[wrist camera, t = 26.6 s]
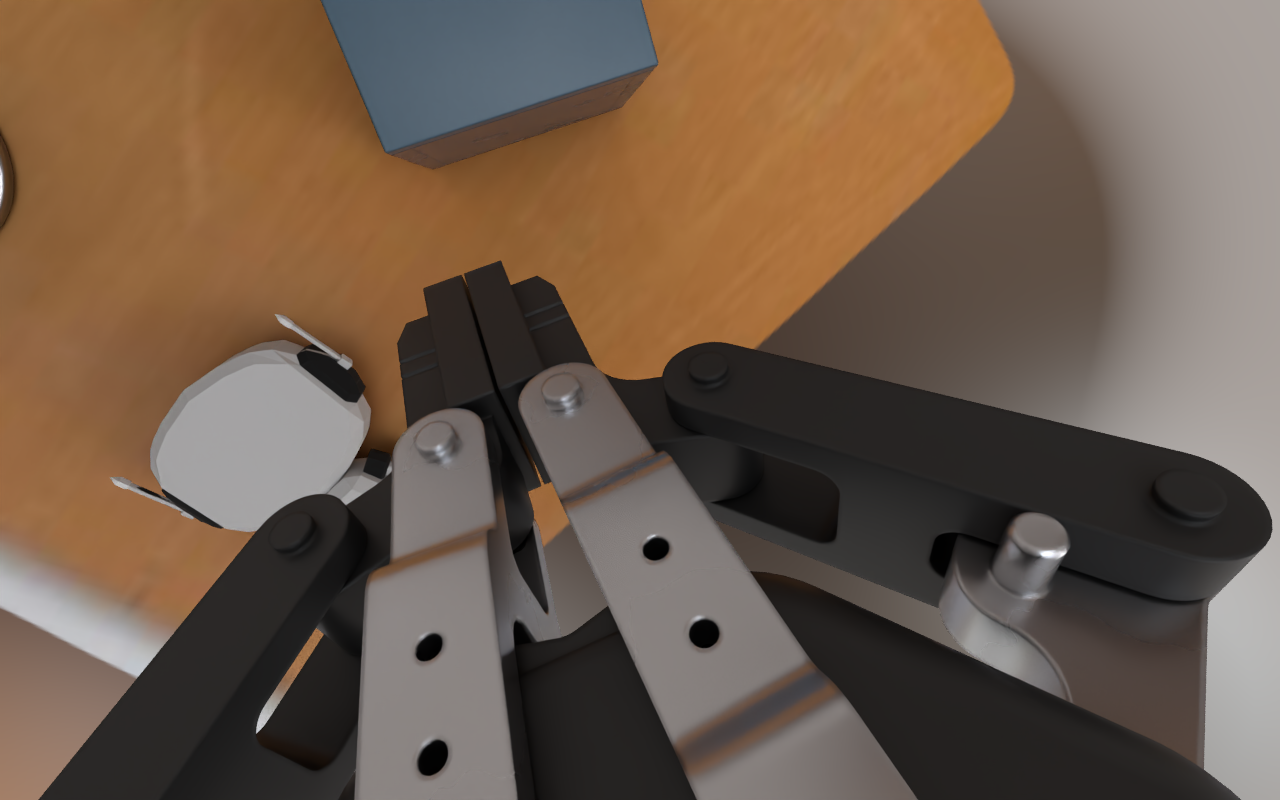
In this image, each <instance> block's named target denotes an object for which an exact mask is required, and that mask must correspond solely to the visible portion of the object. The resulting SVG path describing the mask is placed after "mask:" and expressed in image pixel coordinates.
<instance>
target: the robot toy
mask: <svg viewBox="0 0 1280 800" xmlns="http://www.w3.org/2000/svg"><path fill="white" fill-rule="evenodd" d="M275 315H276V317H277V319H278V320H279V322H280V323H281V324H283V325H284V326H286V327H287V328H291V329H292V330H294V331H295V332H297V333H298V334H300V335H301V336H303V337H304V338H306V339H307V340H309V341H310V342H312V343H313V344H311V345H309V346H306V347H303V346H300V345H297V344H295V343H292V342H289V341H286V340H278V341H270V342H263V343H260V344H257V345H254V346H252V347H250V348H248V349H246V350H244V351H242V352H240V353H238V354H236V355H234V356H232V357H231V358H229V359H228V360H226V361H225V362H223V363H222V364H221V365H219V366H218V367H216V368H215V369H213V370H212V371H210V372H209V373H208V374H206V375H205V376H203V377H202V378H200V379H199V380H197V381H196V382H195V383H193V384H192V385H190V386H189V387H187V388H186V389H185V390H183V392H182V393H181V395H180V396H179V397H178V399H177V400H176V402H175V403H174V405H173V406H172V408H171V409H170V411H169V412H168V414H167V415H166V417H165V418H164V419H163V421H162V422H161V424H160V427H159V429H158V431H157V433H156V435H155V437H154V439H153V442H152V446H151V450H150V460H151V470H152V472H153V474H154V475H155V477H156V479H157V481H158V482H159V484H160V486H161V488H162V492H163V493H164V494H165V496H166V497H167V498H166V497H163V496H161V495H159V494H157V493H154V492H152V491H150V490H147V489H145V488H143V487H140V486H138V485H136V484H133V483H131V482H132V481H130V480H128V479H125V478H123V477H110V478H111V480H112V481H113V483H114V484H115V485H116V486H119V487H121V488H123V489H129V490H132V491H134V492H137V493H139V494H141V495H144V496H146V497H148V498H151V499H153V500H155V501H158V502H160V503H162V504H165V505H167V506H170V507H172V508H174V509H177V510H179V511H181V515H183V516H185V517H188V518H190V519H193V518H196V519H198V520H199V521H201V522H204V523H207V524H209V525H211V526H213V527H217V528H220V529H222V528H225V529H231V530H238V531H245V532H252V531H257V530H258V529H259V528H260V527H261V526H262V524H263V523H264V522H265V521H266V520H267V519H268V518H269V517H271V516H272V515H273V514H274V513H275V512H277V511H278V510H279V509H281V508H282V507H284V506H286V505H287V504H289V503H291V502H293V501H295V500H297V499H300V498H302V497H305V496H309V495H314V494H330V495H333V496H336V497H337V498H339V499H341V500H342V502H343V503H344V504H345V505H347V504H348V503H350V502H351V501H353V500H354V499H356V498H357V497H359V496H360V495H362V494H363V493H365V492H366V491H368V490H369V489H371V488H372V487H374V486H375V485H376V484H378V483H379V482H380V481H382V480H383V479H384V478H385V477H386V476H387V475H388V474H390V472H391V471H392V461H391V455H390V454H389V453H386V452H382V451H379V450H375V449H371V450H370V453H369V455H368V457H367V458H359V459H354V458H355V456H356V454H357V452H358V451H359V449H360V447H361V445H362V443H363V441H364V439H365V437H366V435H367V432H368V429H369V426H370V416H371V408H370V407H369V405H368V403H367V401H366V399H365V398H364V396H363V392H364V389H365V385H364V384H363V382H362V380H361V379H360V377H359V375H358V374H357V372H356V370H354V369H353V368H352V367H351V366H352V360H351V359H350V358H348V357H347V356H345V355H344V354H343V353H342V354H341V355H340V354H338V353H337V352H335V351H334V350H332V349H331V348H329V347H328V346H326V345H325V344H323V343H322V342H320V341H319V340H318V339H316V338H315V337H313V336H312V335H310V334H309V333H307V332H306V331H304V330H303V329H301V328H300V327H298V326H297V325H296V324H294V323H293V321H292V320H290V319H289V318H287V317H286V316H284V315H278V314H275ZM314 344H315V345H314Z"/></svg>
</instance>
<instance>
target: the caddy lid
mask: <svg viewBox="0 0 1280 800" xmlns="http://www.w3.org/2000/svg"><path fill="white" fill-rule="evenodd" d="M321 3H322V5H323V7H324V10H325V12H326V14H327V17H328V19H329V21H330V24H331V26H332V29H333V31H334V33H335V36H336V38H337V40H338V43H339V45H340V47H341V50H342V52H343V54H344V57H345V59H346V62H347V64H348V66H349V69H350V71H351V73H352V76H353V78H354V80H355V83H356V85H357V87H358V90H359V92H360V95H361V97H362V99H363V102H364V104H365V106H366V109H367V111H368V113H369V116H370V118H371V120H372V123H373V125H374V128H375V130H376V132H377V135H378V137H379V139H380V142H381V144H382V146H383V149H384V151H385V152H386V153H387V154H390V155H392V154H395V153H398V152H401V151H405V150H408V149H411V148H414V147H417V146H420V145H423V144H426V143H429V142H432V141H435V140H438V139H441V138H444V137H447V136H450V135H453V134H457V133H460V132H463V131H466V130H469V129H472V128H475V127H478V126H481V125H484V124H487V123H490V122H493V121H496V120H499V119H502V118H505V117H509V116H512V115H515V114H518V113H521V112H524V111H527V110H530V109H533V108H536V107H539V106H542V105H545V104H548V103H551V102H554V101H557V100H561V99H564V98H567V97H570V96H573V95H576V94H579V93H582V92H585V91H588V90H591V89H594V88H597V87H600V86H603V85H606V84H609V83H613V82H616V81H619V80H622V79H625V78H628V77H631V76H634V75H637V74H640V73H643V72H646V71H649V70H652V69H654V68H655V67H656V66H657V65H658V60H657V56H656V52H655V49H654V45H653V41H652V38H651V34H650V30H649V26H648V23H647V19H646V15H645V12H644V8H643V4H642V1H641V0H321Z"/></svg>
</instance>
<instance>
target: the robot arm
mask: <svg viewBox="0 0 1280 800" xmlns="http://www.w3.org/2000/svg"><path fill="white" fill-rule="evenodd" d="M13 191H14V179H13V170H12V165H11V161H10V157H9V154H8V151H7V148H6V146H5V143H4V141H3V139H2V137H1V135H0V228H1V227H2V225H3V223H4V222H5V220H6V218H7V216H8V213H9V211H10V208H11V204H12V199H13ZM464 275H465V279H466V282H467V285H466V283H465V281H464V279H463V277H462V275H459V276H456V277H454V278H451V279H448V280H445V281H442V282H440V283H437V284H434V285H431V286H428V287H426V288H424V289H423V290H424V296H425V301H426V306H427V311H428V316H425V317H423V318H420V319H417V320H414V321H412V322H409V323H406V325H405V328H404V330H403V332H402V334H401V336H400V338H399V341H398V343H397V346H398V354H399V362H400V364H401V365H400V370H401V377H402V379H403V380H402V387H403V395H404V403H405V412H406V420H407V428H408V429H407V430H406V431H405V432H404V433H403V434H402V435H401V437H400V438H399V439H398V441H397V443H396V445H395V447H394V450H393V454H392V471H391V472H390V474H388V475H387V476H386V477H385V478H384V479H383V480H382V481H380V482H379V483H378V484H376V485H375V486H374V487H372V488H371V489H369V490H368V491H366V492H365V493H363V494H362V495H360V496H359V497H357V498H356V499H354V500H353V501H351V502H350V503H348V504H347V505H345V504H344V503H343V502H342V500H341V499H339V498H337V497H336V496H333V495H330V494H314V495H309V496H305V497H302V498H300V499H297V500H295V501H293V502H291V503H289V504H287V505H286V506H284V507H282V508H281V509H279V510H278V511H277V512H275V513H274V514H273V515H272V516H271V517H269V518H268V519H267V520H266V521H265V522H264V523H263V524H262V526H261V527H260V528H259V529H258V530H257V531H256V533H255V534H254V535H253V536H252V538H251V539H250V540H249V541H248V543H247V544H246V545H245V546H244V547H243V549H242V550H241V551H240V552H239V554H238V555H237V556H236V557H235V559H234V560H233V561H232V562H231V563H230V565H229V566H228V567H227V568H226V570H225V571H224V572H223V573H222V575H221V576H220V577H219V578H218V579H217V581H216V582H215V583H214V584H213V586H212V587H211V588H210V589H209V591H208V592H207V593H206V594H205V595H204V597H203V598H202V599H201V600H200V602H199V603H198V604H197V605H196V607H195V608H194V609H193V610H192V611H191V613H190V614H189V615H188V616H187V618H186V619H185V620H184V621H183V623H182V624H181V625H180V626H179V627H178V629H177V630H176V631H175V632H174V634H173V635H172V636H171V637H170V639H169V640H168V641H167V642H166V643H165V645H164V646H163V647H162V648H161V650H160V651H159V652H158V653H157V655H156V656H155V657H154V658H153V659H152V661H151V662H150V663H149V664H148V666H147V667H146V668H145V669H144V671H143V672H142V673H141V674H140V675H139V677H138V678H137V679H136V681H135V682H134V683H133V684H132V686H131V687H130V688H129V689H128V690H127V692H126V693H125V694H124V695H123V696H122V698H121V699H120V700H119V701H118V703H117V704H116V705H115V706H114V708H113V709H112V710H111V711H110V712H109V714H108V715H107V716H106V718H105V719H104V720H103V721H102V722H101V724H100V725H99V726H98V727H97V728H96V730H95V731H94V732H93V733H92V735H91V736H90V737H89V738H88V740H87V741H86V742H85V743H84V744H83V746H82V747H81V748H80V749H79V751H78V752H77V753H76V754H75V756H74V757H73V758H72V759H71V761H70V762H69V763H68V764H67V765H66V767H65V768H64V769H63V770H62V772H61V773H60V774H59V775H58V776H57V778H56V779H55V780H54V782H53V783H52V784H51V785H50V786H49V788H48V789H47V790H46V791H45V792H44V794H43V795H42V796H41V797H40V799H39V800H1241V799H1240V798H1238V797H1237V796H1236V795H1235V794H1234V793H1233V792H1232V791H1231V790H1229V789H1228V788H1227V787H1226V786H1224V785H1223V784H1222V783H1220V782H1219V781H1218V780H1217V779H1215V778H1214V777H1212V776H1211V775H1210V774H1209V773H1207V772H1206V771H1205V770H1204V740H1205V701H1206V662H1207V660H1206V659H1207V624H1208V621H1207V620H1208V605H1209V602H1210V601H1211V600H1212V599H1213V598H1214V597H1215V596H1216V595H1217V594H1218V593H1219V592H1220V591H1221V590H1222V588H1224V587H1225V586H1226V585H1227V584H1228V583H1229V582H1230V581H1231V580H1232V579H1233V578H1234V577H1235V576H1236V575H1237V574H1238V573H1239V572H1240V571H1241V570H1242V569H1243V568H1244V567H1245V566H1246V565H1247V564H1248V562H1250V561H1251V560H1252V558H1253V557H1255V555H1256V554H1257V553H1258V552H1259V551H1260V550H1261V549H1262V548H1263V547H1264V546H1265V545H1266V544H1267V542H1268V541H1269V539H1270V537H1271V533H1272V519H1271V516H1270V513H1269V510H1268V508H1267V506H1266V505H1265V503H1264V501H1263V500H1262V499H1261V497H1260V496H1259V495H1258V494H1257V492H1256V491H1255V490H1254V489H1253V488H1252V487H1250V485H1249V484H1247V483H1246V482H1245V481H1244V480H1242V479H1241V478H1240V477H1238V476H1237V475H1236V474H1234V473H1232V472H1230V471H1229V470H1227V469H1226V468H1224V467H1222V466H1220V465H1218V464H1216V463H1214V462H1212V461H1209V460H1206V459H1204V458H1201V457H1198V456H1195V455H1191V454H1188V453H1184V452H1180V451H1175V450H1171V449H1167V448H1163V447H1159V446H1155V445H1151V444H1146V443H1142V442H1138V441H1134V440H1130V439H1125V438H1121V437H1117V436H1113V435H1109V434H1105V433H1100V432H1096V431H1092V430H1088V429H1084V428H1080V427H1075V426H1071V425H1067V424H1062V423H1059V422H1054V421H1050V420H1046V419H1042V418H1038V417H1034V416H1029V415H1025V414H1021V413H1016V412H1013V411H1009V410H1004V409H1000V408H996V407H992V406H987V405H983V404H979V403H975V402H971V401H966V400H963V399H958V398H954V397H950V396H945V395H941V394H937V393H933V392H929V391H925V390H921V389H917V388H912V387H908V386H904V385H900V384H895V383H891V382H887V381H883V380H879V379H875V378H871V377H866V376H862V375H858V374H854V373H850V372H845V371H841V370H837V369H833V368H829V367H825V366H820V365H816V364H812V363H808V362H803V361H799V360H795V359H791V358H787V357H783V356H779V355H774V354H770V353H766V352H762V351H758V350H754V349H749V348H745V347H741V346H737V345H733V344H728V343H722V342H709V343H702V344H697V345H694V346H691V347H689V348H686V349H684V350H682V351H681V352H679V353H678V354H676V355H675V356H674V357H673V358H672V359H671V360H670V361H669V362H668V363H667V365H666V367H665V369H664V371H663V375H662V377H657V378H650V379H643V380H623V379H617V378H614V377H611V376H608V375H606V374H604V373H603V372H601V371H600V370H599V369H598V368H597V367H596V366H595V364H594V363H593V361H592V359H591V357H590V355H589V353H588V351H587V349H586V347H585V345H584V343H583V341H582V339H581V337H580V335H579V333H578V331H577V330H576V328H575V326H574V324H573V322H572V320H571V318H570V316H569V314H568V312H567V310H566V308H565V306H564V304H563V302H562V300H561V298H560V296H559V294H558V292H557V290H556V288H555V286H554V285H552V284H551V283H549V282H547V281H545V280H544V279H542V278H540V277H538V276H535V277H532V278H530V279H527V280H524V281H521V282H519V283H516V284H513V285H510V282H509V280H508V277H507V275H506V272H505V270H504V267H503V265H502V262H501V261H498V262H495V263H492V264H490V265H487V266H484V267H481V268H478V269H476V270H473V271H470V272H467V273H464ZM467 286H468V287H467ZM533 461H534V462H533ZM534 463H535V465H536V467H537V469H538V471H539V473H540V475H541V477H542V480H543V482H544V484H547V483H549V482H552V484H553V486H554V488H555V490H556V493H557V495H558V497H559V499H560V502H561V504H562V506H563V508H564V511H565V513H566V515H567V517H568V519H569V521H570V524H571V526H572V528H573V530H574V532H575V534H576V537H577V539H578V541H579V543H580V545H581V548H582V549H583V552H584V554H585V556H586V558H587V561H588V563H589V565H590V567H591V569H592V572H593V574H594V576H595V578H596V580H597V582H598V585H599V587H600V589H601V591H602V593H603V595H604V598H605V600H606V602H607V604H608V606H607V607H606V608H605V609H603V610H602V611H601V612H599V613H598V614H597V615H595V616H594V617H593V618H591V619H590V620H589V621H587V622H586V623H585V624H583V625H582V626H581V627H580V628H578V629H577V630H575V631H574V632H573V633H571V634H569V635H567V636H564V637H562V634H561V631H560V628H559V625H558V621H557V616H556V611H555V606H554V601H553V596H552V591H551V586H550V581H549V576H548V571H547V566H546V561H545V556H544V551H543V546H542V541H541V536H540V530H539V527H538V525H537V523H536V521H535V519H534V512H533V507H532V504H531V500H530V497H529V494H528V491H530V490H533V489H535V488H538V487H540V486H541V484H540V481H539V478H538V475H537V471H536V468H535V465H534ZM715 520H716V521H719V522H721V523H724V524H726V525H729V526H732V527H734V528H737V529H739V530H742V531H744V532H747V533H749V534H752V535H754V536H757V537H760V538H762V539H764V540H768V541H770V542H772V543H775V544H777V545H780V546H782V547H785V548H787V549H790V550H793V551H795V552H797V553H800V554H803V555H805V556H808V557H810V558H813V559H815V560H818V561H820V562H823V563H825V564H828V565H830V566H833V567H836V568H838V569H841V570H843V571H846V572H849V573H851V574H853V575H856V576H858V577H861V578H863V579H866V580H869V581H871V582H874V583H876V584H879V585H881V586H884V587H886V588H889V589H892V590H894V591H896V592H899V593H902V594H904V595H907V596H909V597H912V598H914V599H917V600H919V601H922V602H924V603H927V604H930V605H932V606H935V607H937V608H939V610H940V615H941V618H942V621H943V623H944V625H945V627H946V629H947V630H948V632H949V633H950V635H951V636H952V637H953V638H954V640H955V641H956V642H957V643H958V644H959V645H960V646H961V647H962V648H963V649H965V650H966V651H967V652H969V653H970V654H971V655H973V656H975V657H976V658H978V659H980V660H982V661H983V662H985V663H987V664H989V665H991V666H992V667H991V666H989V665H986V664H985V663H983V662H980V661H978V660H976V659H974V658H972V657H969V656H967V655H965V654H963V653H961V652H958V651H956V650H954V649H952V648H950V647H947V646H945V645H943V644H941V643H939V642H936V641H934V640H932V639H930V638H927V637H925V636H923V635H921V634H919V633H916V632H914V631H912V630H910V629H908V628H905V627H903V626H901V625H899V624H897V623H894V622H892V621H890V620H888V619H886V618H883V617H881V616H879V615H877V614H875V613H873V612H870V611H868V610H866V609H863V608H861V607H859V606H857V605H855V604H853V603H851V602H848V601H846V600H844V599H842V598H839V597H837V596H835V595H833V594H831V593H828V592H826V591H824V590H822V589H820V588H817V587H815V586H813V585H810V584H808V583H805V582H803V581H800V580H797V579H793V578H790V577H787V576H783V575H778V574H772V573H767V572H753V571H749V570H748V568H747V567H746V565H745V564H744V562H743V561H742V559H741V558H740V556H739V555H738V553H737V552H736V551H735V549H734V548H733V546H732V545H731V543H730V542H729V540H728V539H727V538H726V536H725V534H724V533H723V532H722V530H721V529H720V527H719V526H718V524H717V523H716V521H715ZM316 628H317V629H318V630H320V631H321V632H322V633H323V634H324V635H323V637H322V638H321V640H320V641H319V643H318V644H317V646H316V648H315V649H314V651H313V652H312V654H311V655H310V657H309V658H308V660H307V661H306V663H305V664H304V666H303V668H302V669H301V671H300V672H299V674H298V675H297V677H296V678H295V680H294V681H293V683H292V684H291V686H290V688H289V689H288V691H287V692H286V694H285V695H284V697H283V698H282V700H281V701H280V703H279V704H278V706H277V708H276V709H275V711H274V712H273V714H272V715H271V717H270V718H269V720H268V721H267V723H266V724H265V726H264V727H263V728H262V729H261V730H260V731H259V732H258V733H257V734H256V726H257V721H258V718H259V715H260V713H261V711H262V709H263V707H264V706H265V704H266V702H267V701H268V699H269V698H270V696H271V695H272V693H273V692H274V690H275V689H276V687H277V686H278V684H279V683H280V681H281V680H282V678H283V677H284V675H285V674H286V672H287V671H288V669H289V668H290V666H291V665H292V663H293V662H294V660H295V659H296V657H297V656H298V654H299V653H300V651H301V650H302V648H303V647H304V645H305V644H306V642H307V641H308V639H309V638H310V636H311V635H312V633H313V632H314V630H315V629H316ZM355 770H356V771H355ZM353 773H354V774H353Z"/></svg>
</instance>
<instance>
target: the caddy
mask: <svg viewBox="0 0 1280 800" xmlns="http://www.w3.org/2000/svg"><path fill="white" fill-rule="evenodd" d="M653 70H654V69H652V70H649V71H646V72H643V73H640V74H637V75H634V76H631V77H628V78H625V79H622V80H619V81H616V82H613V83H609V84H606V85H603V86H600V87H597V88H594V89H591V90H588V91H585V92H582V93H579V94H576V95H573V96H570V97H567V98H564V99H561V100H557V101H554V102H551V103H548V104H545V105H542V106H539V107H536V108H533V109H530V110H527V111H524V112H521V113H518V114H515V115H512V116H509V117H505V118H502V119H499V120H496V121H493V122H490V123H487V124H484V125H481V126H478V127H475V128H472V129H469V130H466V131H463V132H460V133H457V134H453V135H450V136H447V137H444V138H441V139H438V140H435V141H432V142H429V143H426V144H423V145H420V146H417V147H414V148H411V149H408V150H405V151H401V152H398V153H395V154H392V156H395V157H398V158H401V159H404V160H407V161H410V162H413V163H416V164H418V165H421V166H424V167H427V168H430V169H436V168H439V167H442V166H445V165H448V164H451V163H454V162H457V161H460V160H463V159H466V158H469V157H472V156H475V155H478V154H481V153H484V152H488V151H491V150H494V149H497V148H500V147H503V146H506V145H509V144H512V143H515V142H518V141H521V140H524V139H527V138H530V137H533V136H536V135H539V134H542V133H545V132H548V131H551V130H554V129H557V128H560V127H563V126H566V125H570V124H573V123H576V122H579V121H582V120H585V119H588V118H591V117H594V116H597V115H600V114H603V113H606V112H609V111H612V110H615V109H618V108H621V107H622V106H623V105H624V104H625V103H626V102H627V100H628V99H629V98H630V97H631V96H632V95H633V93H634V92H635V91H636V90H637V89H638V87H639V86H640V85H641V84H642V83H643V82H644V80H645V79H646V78H647V77H648V76H649V75H650V73H651V72H652V71H653Z"/></svg>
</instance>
